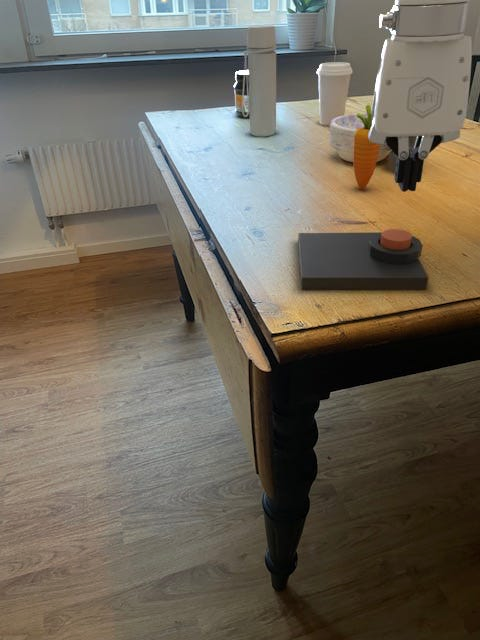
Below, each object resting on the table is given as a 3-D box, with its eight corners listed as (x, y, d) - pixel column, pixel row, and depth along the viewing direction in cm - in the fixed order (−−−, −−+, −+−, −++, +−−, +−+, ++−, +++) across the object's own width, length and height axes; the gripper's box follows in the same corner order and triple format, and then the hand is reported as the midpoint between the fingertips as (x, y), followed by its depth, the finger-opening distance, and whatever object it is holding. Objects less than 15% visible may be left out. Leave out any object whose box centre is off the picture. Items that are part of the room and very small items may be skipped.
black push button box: (406, 243, 76) (410, 221, 74) (429, 290, 65) (434, 266, 63) (297, 244, 77) (298, 222, 75) (301, 290, 66) (302, 266, 64)
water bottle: (271, 129, 138) (271, 24, 124) (280, 136, 132) (281, 26, 118) (239, 132, 136) (235, 26, 122) (247, 139, 130) (243, 28, 116)
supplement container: (249, 120, 148) (247, 76, 141) (228, 115, 155) (226, 72, 149) (276, 114, 153) (276, 71, 146) (255, 109, 160) (254, 68, 154)
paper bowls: (379, 172, 104) (384, 132, 100) (316, 161, 112) (317, 124, 108) (407, 154, 114) (413, 117, 110) (347, 145, 122) (350, 110, 118)
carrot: (370, 195, 93) (380, 110, 85) (345, 192, 96) (352, 108, 87) (378, 187, 97) (388, 104, 89) (353, 184, 99) (360, 102, 91)
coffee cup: (311, 126, 139) (313, 66, 131) (317, 118, 147) (320, 61, 138) (345, 127, 137) (350, 66, 128) (350, 119, 144) (355, 61, 136)
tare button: (406, 238, 70) (408, 228, 70) (413, 251, 67) (415, 240, 66) (377, 239, 71) (379, 228, 70) (382, 251, 67) (384, 241, 67)
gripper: (363, 30, 52) (351, 200, 62) (513, 21, 51) (475, 196, 61) (354, 24, 58) (344, 180, 68) (487, 17, 57) (457, 176, 67)
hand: (406, 187), depth 65 cm, fingers closed
